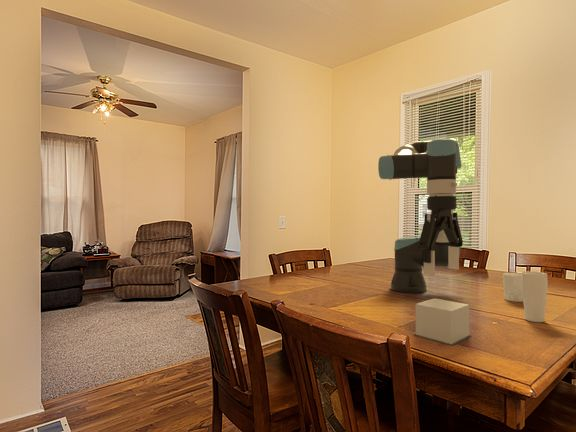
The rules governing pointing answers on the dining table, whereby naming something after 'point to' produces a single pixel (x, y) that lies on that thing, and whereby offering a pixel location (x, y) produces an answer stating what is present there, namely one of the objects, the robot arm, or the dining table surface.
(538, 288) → the drinking glass
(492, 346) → the dining table surface
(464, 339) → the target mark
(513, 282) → the white cup
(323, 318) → the dining table surface
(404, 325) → the dining table surface
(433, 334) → the pale grey cube
